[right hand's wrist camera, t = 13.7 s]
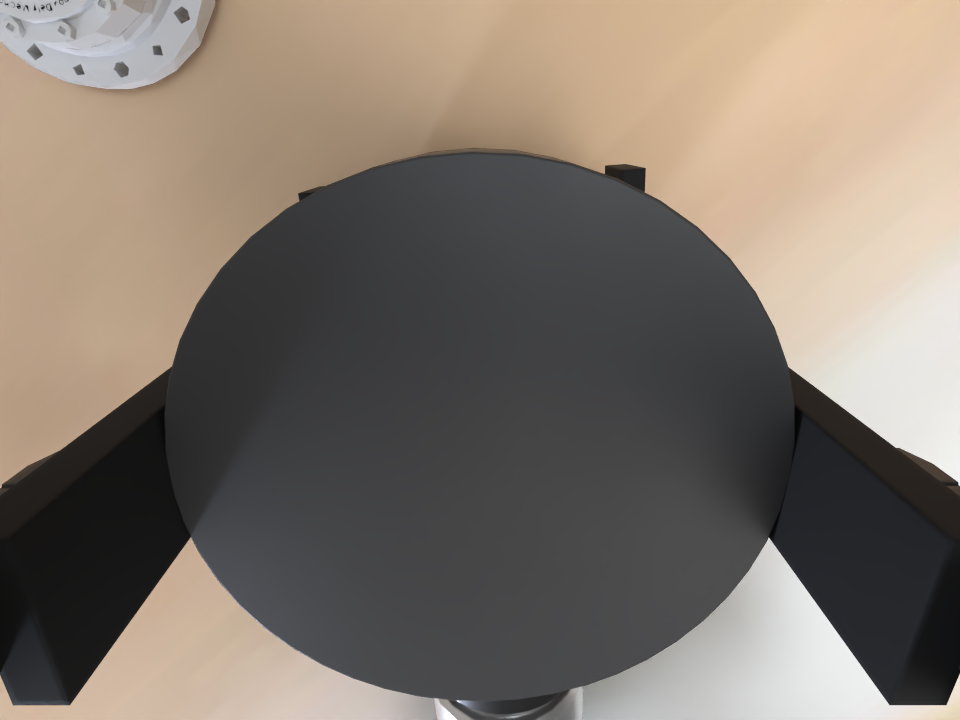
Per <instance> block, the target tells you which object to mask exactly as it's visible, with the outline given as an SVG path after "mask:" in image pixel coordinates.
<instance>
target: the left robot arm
mask: <svg viewBox="0 0 960 720" xmlns="http://www.w3.org/2000/svg"><path fill="white" fill-rule="evenodd" d="M645 169H646V168H642V167H637V166H632V165H627V164H622V165H608V166H605V175H608V176H611V177H614V178H617V179H619V180H621V181H623V182H625V183H627V184H629V185H631V186H633V187H635V188H637V189H639V190H641V191H643V192H645ZM324 187H325V186H321V187H317V188H314V189H311V190H307V191H304V192H301V193H298V195H299V200H300V201H301V200H303V199H304V198H306V197H308V196H310V195H311V194H313V193H315V192H317V191H318V190H320V189H322V188H324ZM434 701H435V708H436V714H437V720H582V718H583V686H582V687H578V688H574V689H570V690H566V691H562V692H558V693H554V694H549V695H543V696H536V697H530V698H524V699H515V700H499V701H458V700H445V699H437V698H434Z"/></svg>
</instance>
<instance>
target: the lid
mask: <svg viewBox="0 0 960 720" xmlns="http://www.w3.org/2000/svg"><path fill="white" fill-rule="evenodd" d="M164 427H165V454H166V459H167V465H168V469H169V474H170V478H171V483H172V487H173V491H174V495H175V499H176V502H177V505H178V508H179V511H180V514H181V517H182V520H183V522H184V524H185V526H186V528H187V530H188V532H189V534H190V536H191V538H192V540H193V542H194V544H195V546H196V548H197V550H198V552H199V553H200V555H201V556H202V558H203V559H204V561H205V562H206V564H207V565H208V567H209V568H210V570H211V571H212V573H213V574H214V575H215V577H216V578H217V580H218V581H219V582H220V583H221V584H222V586H223V587H224V588H225V589H226V590H227V591H228V592H229V594H230V595H231V596H232V597H233V598H234V599H235V600H236V602H237V603H238V604H239V605H240V606H241V607H242V608H243V609H244V610H245V611H247V612H248V613H249V614H250V615H251V616H252V617H253V618H254V619H255V620H256V621H258V622H259V623H260V624H261V625H262V626H263V627H264V628H265V629H267V630H268V631H270V632H271V633H272V634H274V635H275V636H277V637H278V638H279V639H281V640H282V641H283V642H285V643H286V644H288V645H289V646H290V647H292V648H293V649H295V650H297V651H299V652H300V653H302V654H304V655H306V656H308V657H309V658H311V659H313V660H315V661H316V662H318V663H320V664H322V665H324V666H326V667H328V668H331V669H333V670H335V671H337V672H340V673H342V674H344V675H347V676H349V677H351V678H353V679H357V680H360V681H363V682H366V683H369V684H372V685H375V686H378V687H381V688H384V689H388V690H393V691H397V692H402V693H406V694H411V695H415V696H421V697H429V698H437V699H445V700H458V701H499V700H515V699H524V698H530V697H536V696H543V695H549V694H554V693H558V692H562V691H566V690H570V689H574V688H578V687H582V686H585V685H588V684H591V683H594V682H596V681H599V680H602V679H605V678H608V677H610V676H613V675H616V674H618V673H620V672H622V671H624V670H626V669H629V668H631V667H633V666H635V665H637V664H639V663H641V662H643V661H645V660H647V659H649V658H651V657H652V656H654V655H655V654H657V653H659V652H660V651H662V650H664V649H665V648H667V647H668V646H670V645H672V644H673V643H675V642H677V641H678V640H679V639H680V638H682V637H683V636H684V635H686V634H687V633H688V632H689V631H691V630H692V629H693V628H695V627H696V626H697V625H698V624H700V623H701V622H702V621H703V620H705V619H706V618H707V617H708V616H709V615H710V614H711V613H712V612H713V611H714V610H715V609H716V608H717V607H718V606H719V605H720V604H721V603H722V602H723V601H724V600H725V599H726V598H727V597H728V596H729V595H730V593H731V592H732V591H733V590H734V588H735V587H736V586H737V585H738V583H739V582H740V581H741V580H742V578H743V577H744V576H745V575H746V573H747V572H748V571H749V569H750V568H751V566H752V565H753V563H754V561H755V560H756V558H757V556H758V555H759V553H760V552H761V550H762V548H763V547H764V545H765V543H766V542H767V540H768V537H769V535H770V533H771V531H772V528H773V526H774V524H775V522H776V519H777V517H778V515H779V513H780V510H781V507H782V504H783V500H784V496H785V492H786V488H787V484H788V480H789V476H790V471H791V466H792V461H793V453H794V446H795V405H794V398H793V392H792V387H791V381H790V376H789V370H788V365H787V362H786V359H785V356H784V353H783V350H782V347H781V345H780V342H779V339H778V336H777V333H776V330H775V328H774V326H773V324H772V322H771V320H770V318H769V316H768V314H767V313H766V311H765V309H764V307H763V305H762V303H761V301H760V300H759V298H758V296H757V294H756V292H755V291H754V289H753V288H752V287H751V285H750V284H749V283H748V282H747V280H746V279H745V278H744V276H743V275H742V274H741V272H740V271H739V270H738V268H737V267H736V266H735V264H734V263H733V262H732V260H731V259H730V258H729V257H728V256H727V255H726V254H725V253H724V252H723V251H722V250H721V249H720V248H719V247H718V246H717V245H716V244H715V243H714V242H713V241H712V240H711V239H709V238H708V237H707V236H706V235H705V234H704V233H703V232H702V231H701V230H700V229H699V228H698V227H697V226H695V225H694V224H693V223H691V222H690V221H688V220H687V219H686V218H684V217H683V216H681V215H680V214H679V213H677V212H676V211H674V210H673V209H671V208H670V207H669V206H667V205H666V204H664V203H663V202H662V201H660V200H658V199H656V198H654V197H652V196H650V195H648V194H647V193H645V192H643V191H641V190H639V189H637V188H635V187H633V186H631V185H629V184H627V183H625V182H623V181H621V180H619V179H617V178H614V177H611V176H608V175H605V174H602V173H599V172H596V171H593V170H590V169H587V168H584V167H582V166H579V165H576V164H573V163H570V162H566V161H563V160H560V159H556V158H553V157H548V156H543V155H537V154H532V153H527V152H522V151H516V150H503V149H482V148H469V149H458V150H447V151H436V152H430V153H426V154H422V155H418V156H413V157H409V158H405V159H401V160H396V161H393V162H389V163H386V164H383V165H379V166H376V167H373V168H370V169H368V170H365V171H363V172H360V173H358V174H355V175H353V176H350V177H347V178H345V179H342V180H340V181H337V182H335V183H332V184H330V185H327V186H325V187H324V188H322V189H320V190H318V191H317V192H315V193H313V194H311V195H310V196H308V197H306V198H304V199H303V200H301V201H299V202H297V203H296V204H294V205H292V206H290V207H289V208H287V209H286V210H284V211H283V212H282V213H280V214H279V215H278V216H277V217H275V218H274V219H273V220H272V221H270V222H269V223H268V224H267V225H265V226H264V227H263V228H261V229H260V230H259V231H258V232H256V233H255V234H254V235H253V236H251V237H250V238H249V239H248V240H247V241H246V242H245V244H244V245H243V246H242V247H241V248H240V249H239V250H238V251H237V252H236V253H235V254H234V255H233V256H232V257H231V259H230V260H229V261H228V262H227V263H226V264H225V265H224V266H223V267H222V268H221V269H220V271H219V272H218V274H217V275H216V277H215V278H214V280H213V281H212V283H211V284H210V285H209V287H208V288H207V290H206V291H205V293H204V294H203V296H202V297H201V299H200V300H199V302H198V303H197V305H196V307H195V309H194V311H193V313H192V315H191V318H190V320H189V322H188V324H187V326H186V328H185V330H184V332H183V335H182V337H181V339H180V341H179V345H178V348H177V352H176V355H175V359H174V362H173V366H172V369H171V372H170V376H169V381H168V389H167V397H166V405H165V413H164Z"/></svg>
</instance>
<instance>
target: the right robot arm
mask: <svg viewBox="0 0 960 720" xmlns="http://www.w3.org/2000/svg"><path fill="white" fill-rule="evenodd" d="M171 369H172V367H171V368H170V369H168V370H167V371H166V372H164V373H163V374H162V375H160V376H159V377H158V378H156V379H155V380H154V381H152V382H151V383H150V384H148V385H147V386H146V387H144V388H143V389H142V390H140V391H139V392H138V393H136V394H135V395H134V396H132V397H131V398H130V399H128V400H127V401H126V402H124V403H123V404H122V405H120V406H119V407H118V408H116V409H115V410H114V411H112V412H111V413H110V414H108V415H107V416H106V417H104V418H103V419H102V420H100V421H99V422H98V423H96V424H95V425H94V426H92V427H91V428H90V429H88V430H87V431H86V432H84V433H83V434H82V435H80V436H79V437H78V438H76V439H75V440H74V441H72V442H71V443H70V444H68V445H67V446H66V447H64V448H63V449H62V450H60V451H58V452H56V453H54V454H52V455H50V456H48V457H46V458H43V459H41V460H39V461H37V462H35V463H33V464H31V465H29V466H27V467H26V468H24V469H23V470H21V471H20V472H19V473H17V474H16V475H15V476H13V477H12V478H10V479H9V480H8V481H6V482H5V483H4V484H2V488H1V489H0V675H1V678H2V680H3V682H4V685H5V687H6V689H7V692H8V694H9V696H10V699H11V701H12V704H13V705H70V704H71V703H72V701H73V700H74V699H75V697H76V696H77V695H78V693H79V692H80V690H81V689H82V688H83V686H84V685H85V683H86V682H87V681H88V679H89V678H90V676H91V675H92V674H93V672H94V671H95V669H96V668H97V667H98V665H99V664H100V663H101V661H102V660H103V658H104V657H105V656H106V654H107V653H108V651H109V650H110V649H111V647H112V646H113V644H114V643H115V642H116V640H117V639H118V637H119V636H120V635H121V633H122V632H123V631H124V629H125V628H126V626H127V625H128V624H129V622H130V621H131V619H132V618H133V617H134V615H135V614H136V612H137V611H138V610H139V608H140V607H141V606H142V604H143V603H144V601H145V600H146V599H147V597H148V596H149V594H150V593H151V592H152V590H153V589H154V587H155V586H156V585H157V583H158V582H159V580H160V579H161V578H162V576H163V575H164V574H165V572H166V571H167V569H168V568H169V567H170V565H171V564H172V562H173V561H174V560H175V558H176V557H177V555H178V554H179V553H180V551H181V550H182V548H183V547H184V546H185V544H186V543H187V542H188V540H189V539H190V537H191V536H190V534H189V532H188V530H187V528H186V526H185V524H184V522H183V520H182V517H181V514H180V511H179V508H178V505H177V502H176V499H175V495H174V491H173V487H172V483H171V478H170V474H169V469H168V465H167V459H166V454H165V427H164V413H165V405H166V397H167V389H168V381H169V376H170V372H171ZM788 370H789V376H790V381H791V387H792V392H793V398H794V405H795V446H794V453H793V461H792V466H791V471H790V476H789V480H788V484H787V488H786V492H785V496H784V500H783V504H782V507H781V510H780V513H779V515H778V517H777V519H776V522H775V524H774V526H773V528H772V531H771V533H770V535H769V538H770V539H771V541H772V542H773V543H774V545H775V546H776V548H777V549H778V550H779V552H780V553H781V555H782V556H783V557H784V559H785V560H786V562H787V563H788V564H789V566H790V567H791V568H792V570H793V571H794V573H795V574H796V575H797V577H798V578H799V580H800V581H801V582H802V584H803V585H804V587H805V588H806V589H807V591H808V592H809V594H810V595H811V596H812V598H813V599H814V600H815V602H816V603H817V605H818V606H819V607H820V609H821V610H822V612H823V613H824V614H825V616H826V617H827V619H828V620H829V621H830V623H831V624H832V626H833V627H834V628H835V630H836V631H837V632H838V634H839V635H840V637H841V638H842V639H843V641H844V642H845V644H846V645H847V646H848V648H849V649H850V651H851V652H852V653H853V655H854V656H855V658H856V659H857V660H858V662H859V663H860V664H861V666H862V667H863V669H864V670H865V671H866V673H867V674H868V676H869V677H870V678H871V680H872V681H873V683H874V684H875V685H876V687H877V688H878V689H879V691H880V692H881V694H882V695H883V696H884V698H885V699H886V701H887V702H888V703H889V705H947V702H948V700H949V698H950V695H951V693H952V690H953V688H954V686H955V683H956V681H957V679H958V676H959V674H960V486H959V485H958V482H957V481H956V480H954V479H953V478H952V477H950V476H949V475H947V474H946V473H945V472H943V471H942V470H940V469H939V468H938V467H936V466H935V465H934V464H932V463H930V462H928V461H926V460H923V459H921V458H919V457H917V456H915V455H913V454H911V453H909V452H906V451H904V450H902V449H900V448H895V447H894V446H892V445H891V444H890V443H889V442H887V441H886V440H885V439H883V438H882V437H881V436H879V435H878V434H877V433H875V432H874V431H873V430H871V429H870V428H869V427H867V426H866V425H865V424H863V423H862V422H861V421H859V420H858V419H857V418H855V417H854V416H853V415H851V414H850V413H849V412H847V411H846V410H845V409H843V408H842V407H841V406H839V405H838V404H837V403H835V402H834V401H833V400H831V399H830V398H829V397H827V396H826V395H825V394H823V393H822V392H821V391H819V390H818V389H817V388H815V387H814V386H813V385H811V384H810V383H809V382H807V381H806V380H805V379H803V378H802V377H801V376H799V375H798V374H797V373H795V372H794V371H793V370H791V369H790V368H789V367H788Z"/></svg>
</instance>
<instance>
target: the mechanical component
mask: <svg viewBox="0 0 960 720" xmlns="http://www.w3.org/2000/svg"><path fill="white" fill-rule="evenodd" d="M215 1H216V0H0V41H1V42H2V43H3V44H4V45H5V46H6V47H7V48H8V49H9V50H10V51H11V52H13V53H14V54H16V55H17V56H18V57H20V58H21V59H23V60H24V61H26V62H27V63H28V64H30V65H31V66H33V67H34V68H36V69H38V70H40V71H43V72H45V73H47V74H49V75H52V76H54V77H56V78H58V79H61V80H63V81H65V82H67V83H73V84H79V85H85V86H92V87H98V88H105V89H133V88H137V87H141V86H145V85H149V84H153V83H156V82H157V81H159V80H161V79H163V78H164V77H166V76H168V75H170V74H171V73H173V72H175V71H177V69H178V68H179V67H180V66H181V65H182V64H183V63H184V62H185V61H186V60H187V59H188V58H189V57H190V55H191V54H192V53H193V52H194V51H195V50H196V49H197V48H198V47H199V46H200V45H201V42H202V39H203V37H204V34H205V31H206V29H207V26H208V23H209V21H210V18H211V15H212V13H213V10H214V7H215ZM188 16H189V18H190V20H188V19H187V17H188Z"/></svg>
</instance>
